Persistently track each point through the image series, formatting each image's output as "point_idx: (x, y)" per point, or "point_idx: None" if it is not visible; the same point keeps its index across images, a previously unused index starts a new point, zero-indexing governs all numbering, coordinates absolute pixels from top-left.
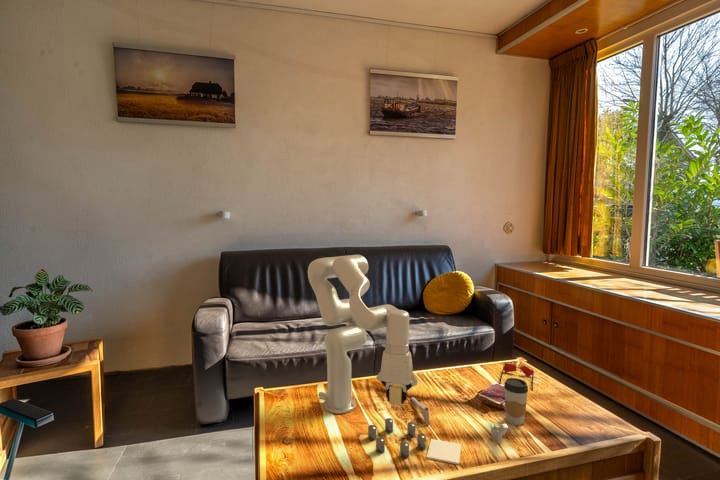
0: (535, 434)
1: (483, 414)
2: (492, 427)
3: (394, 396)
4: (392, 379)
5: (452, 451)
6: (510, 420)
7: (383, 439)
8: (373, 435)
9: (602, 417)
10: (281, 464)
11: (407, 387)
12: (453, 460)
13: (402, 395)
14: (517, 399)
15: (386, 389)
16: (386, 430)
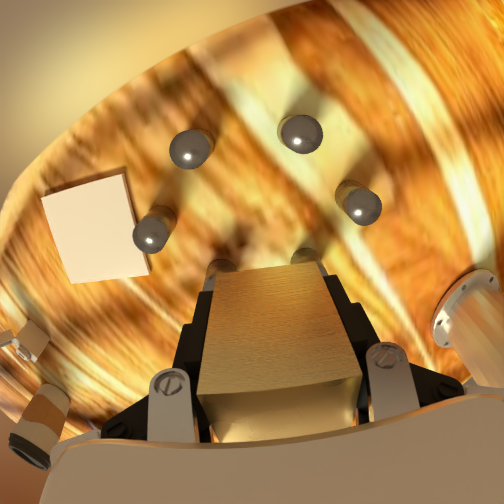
0: (15, 363)
1: (107, 404)
2: (32, 352)
3: (280, 310)
4: (346, 490)
5: (72, 240)
6: (51, 390)
7: (290, 139)
8: (347, 188)
9: (4, 409)
10: (494, 16)
11: (144, 420)
12: (54, 200)
13: (196, 337)
14: (21, 423)
15: (383, 343)
16: (312, 252)
